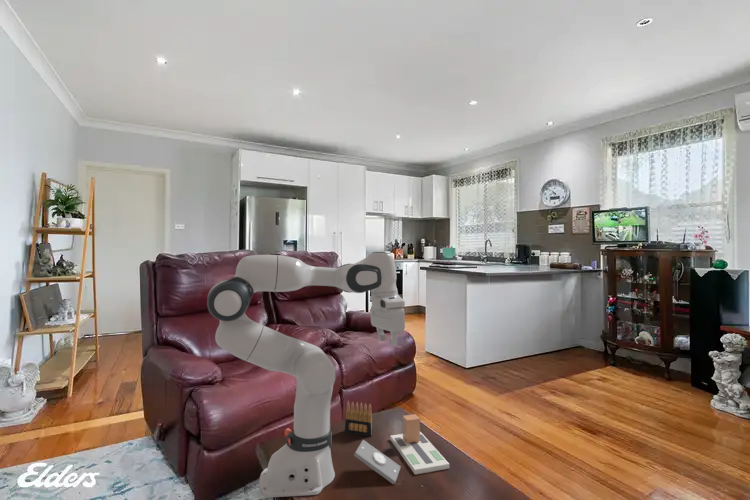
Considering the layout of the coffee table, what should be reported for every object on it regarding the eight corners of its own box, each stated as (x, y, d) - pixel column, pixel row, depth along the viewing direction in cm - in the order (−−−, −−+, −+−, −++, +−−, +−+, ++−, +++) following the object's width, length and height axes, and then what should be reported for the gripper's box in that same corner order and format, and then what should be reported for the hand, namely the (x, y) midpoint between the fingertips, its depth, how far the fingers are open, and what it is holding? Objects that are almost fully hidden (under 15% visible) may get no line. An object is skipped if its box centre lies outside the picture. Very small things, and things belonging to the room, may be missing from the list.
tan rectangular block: (406, 443, 134) (406, 420, 134) (402, 437, 138) (402, 415, 138) (419, 441, 135) (419, 418, 135) (415, 436, 139) (415, 414, 139)
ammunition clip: (372, 434, 144) (373, 402, 144) (371, 436, 142) (371, 404, 142) (346, 430, 147) (346, 399, 147) (344, 432, 145) (345, 401, 145)
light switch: (397, 479, 112) (356, 450, 116) (387, 495, 113) (347, 465, 116) (402, 464, 121) (364, 437, 124) (393, 479, 121) (356, 451, 125)
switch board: (414, 474, 118) (414, 469, 118) (390, 439, 140) (390, 435, 140) (449, 468, 121) (449, 463, 121) (420, 435, 143) (420, 430, 143)
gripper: (365, 299, 133) (367, 339, 133) (388, 303, 114) (391, 349, 114) (381, 298, 136) (384, 337, 135) (407, 301, 117) (410, 346, 116)
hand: (387, 342), depth 124 cm, fingers open, 8 cm apart
